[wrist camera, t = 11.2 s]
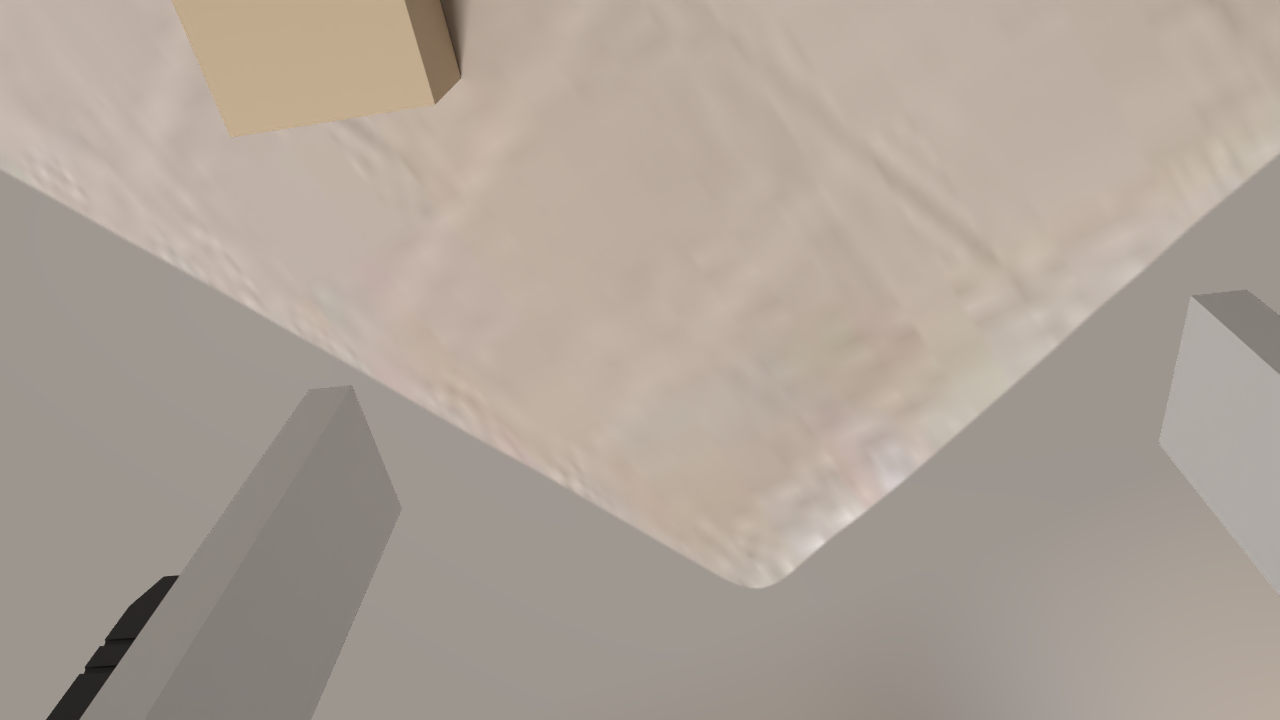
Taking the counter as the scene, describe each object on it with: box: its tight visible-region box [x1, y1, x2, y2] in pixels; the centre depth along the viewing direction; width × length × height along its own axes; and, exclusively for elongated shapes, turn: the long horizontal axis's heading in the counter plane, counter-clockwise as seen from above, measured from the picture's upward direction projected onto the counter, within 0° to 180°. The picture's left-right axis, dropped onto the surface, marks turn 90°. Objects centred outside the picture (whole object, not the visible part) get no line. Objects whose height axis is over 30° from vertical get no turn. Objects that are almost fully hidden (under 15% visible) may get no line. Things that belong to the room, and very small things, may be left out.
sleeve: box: [172, 0, 461, 137], centre depth 34 cm, size 9×6×5 cm, turn 100°
